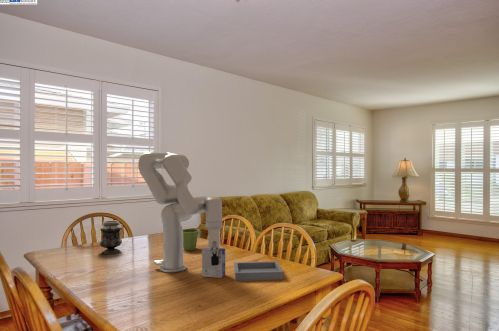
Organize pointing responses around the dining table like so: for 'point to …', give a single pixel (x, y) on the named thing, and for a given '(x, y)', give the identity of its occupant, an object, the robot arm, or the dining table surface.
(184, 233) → the plant pot
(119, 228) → the apothecary jar
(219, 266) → the ink cartridge box
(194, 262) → the dining table surface
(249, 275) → the trough
